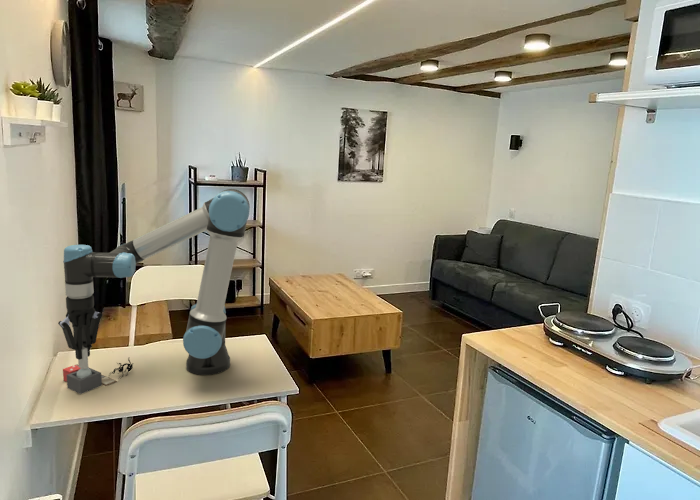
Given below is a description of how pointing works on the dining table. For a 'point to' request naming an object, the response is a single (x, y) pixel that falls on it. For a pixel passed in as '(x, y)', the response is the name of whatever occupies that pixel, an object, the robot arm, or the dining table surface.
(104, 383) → the track strip
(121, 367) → the creature
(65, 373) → the red die
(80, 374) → the dome
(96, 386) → the dome housing
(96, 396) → the dining table surface
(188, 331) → the robot arm
